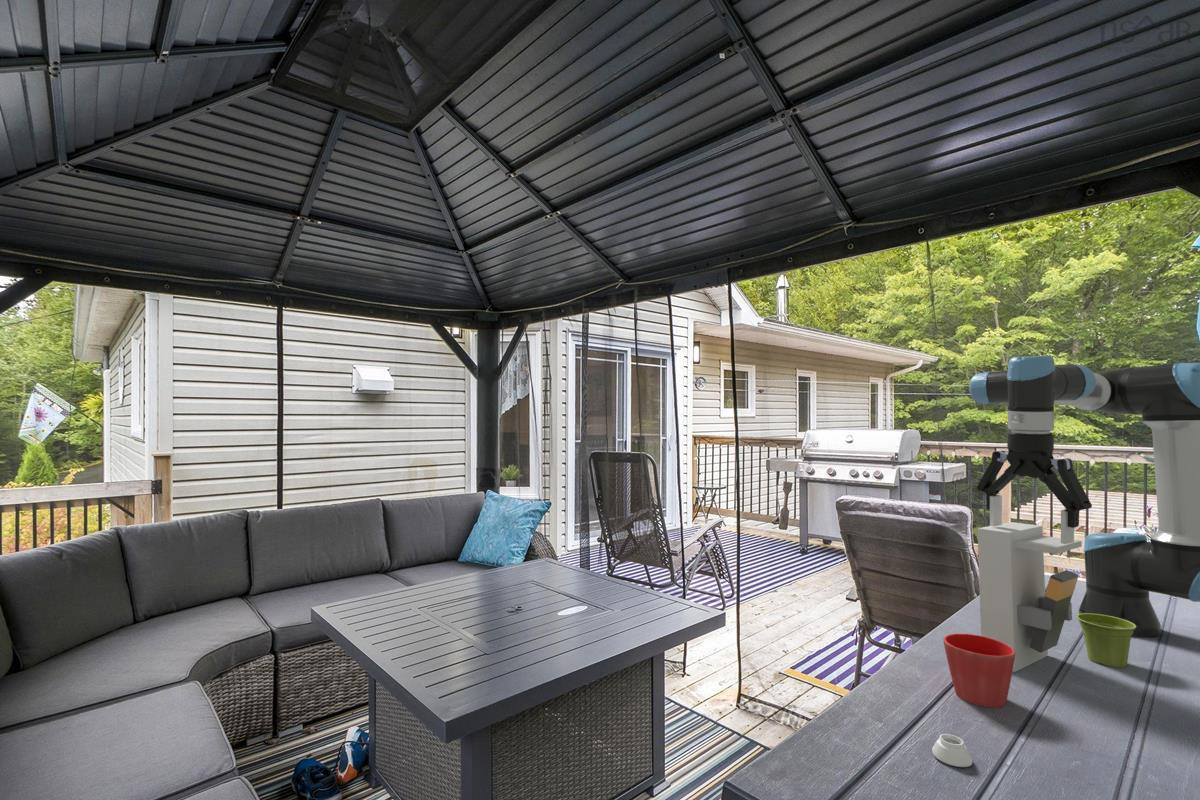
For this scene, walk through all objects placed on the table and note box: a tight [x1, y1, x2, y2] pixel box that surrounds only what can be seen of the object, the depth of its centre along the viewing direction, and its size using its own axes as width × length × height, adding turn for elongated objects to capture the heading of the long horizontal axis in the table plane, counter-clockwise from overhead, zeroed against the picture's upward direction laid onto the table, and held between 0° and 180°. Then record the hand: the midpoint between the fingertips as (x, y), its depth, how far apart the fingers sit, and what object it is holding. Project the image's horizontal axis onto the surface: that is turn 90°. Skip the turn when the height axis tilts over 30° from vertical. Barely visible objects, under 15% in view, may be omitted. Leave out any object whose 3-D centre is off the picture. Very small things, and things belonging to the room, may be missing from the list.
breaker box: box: [977, 521, 1083, 673], centre depth 117 cm, size 16×13×28 cm
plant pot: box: [1076, 613, 1136, 668], centre depth 118 cm, size 9×9×9 cm
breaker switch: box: [1030, 569, 1079, 653], centre depth 114 cm, size 9×2×16 cm, turn 122°
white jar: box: [932, 733, 973, 768], centre depth 83 cm, size 5×3×5 cm
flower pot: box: [942, 633, 1015, 708], centre depth 102 cm, size 11×11×10 cm
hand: (1029, 534), depth 114 cm, fingers open, 13 cm apart
